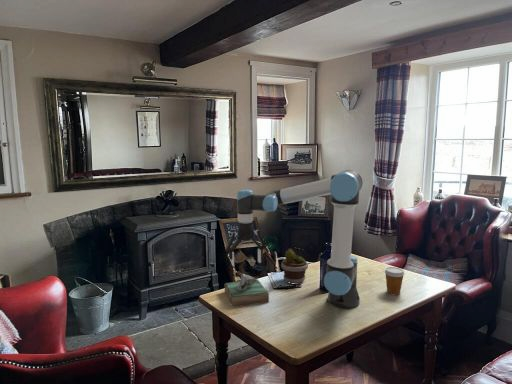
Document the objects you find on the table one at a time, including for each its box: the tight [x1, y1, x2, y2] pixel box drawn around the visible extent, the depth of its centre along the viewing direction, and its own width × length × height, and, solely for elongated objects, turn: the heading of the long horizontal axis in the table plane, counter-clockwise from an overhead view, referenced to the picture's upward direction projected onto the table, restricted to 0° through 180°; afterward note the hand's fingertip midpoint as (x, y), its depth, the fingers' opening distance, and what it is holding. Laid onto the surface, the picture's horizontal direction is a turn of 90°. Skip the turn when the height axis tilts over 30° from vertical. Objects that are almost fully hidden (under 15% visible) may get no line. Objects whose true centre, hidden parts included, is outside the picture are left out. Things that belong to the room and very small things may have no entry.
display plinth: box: [224, 279, 270, 308], centre depth 189 cm, size 18×18×5 cm
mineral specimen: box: [236, 273, 259, 291], centre depth 188 cm, size 10×8×10 cm
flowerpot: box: [280, 248, 309, 285], centre depth 208 cm, size 14×15×20 cm
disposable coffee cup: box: [384, 266, 405, 296], centre depth 194 cm, size 10×10×12 cm
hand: (246, 263), depth 187 cm, fingers open, 13 cm apart
